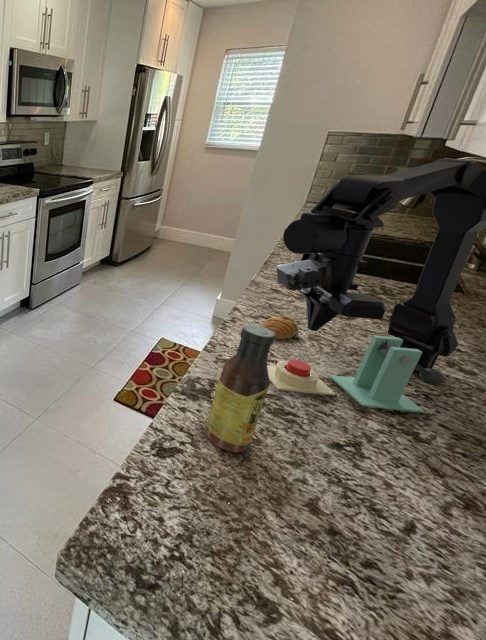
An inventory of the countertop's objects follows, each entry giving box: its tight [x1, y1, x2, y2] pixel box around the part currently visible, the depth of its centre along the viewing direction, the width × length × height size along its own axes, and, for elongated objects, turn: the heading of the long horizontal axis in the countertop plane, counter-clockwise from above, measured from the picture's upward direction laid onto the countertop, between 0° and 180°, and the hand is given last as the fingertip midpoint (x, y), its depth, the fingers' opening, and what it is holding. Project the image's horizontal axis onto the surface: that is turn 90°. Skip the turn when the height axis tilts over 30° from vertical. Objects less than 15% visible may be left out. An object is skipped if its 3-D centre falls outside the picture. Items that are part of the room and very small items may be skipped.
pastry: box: [261, 314, 299, 340], centre depth 99 cm, size 9×7×4 cm
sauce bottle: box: [205, 323, 275, 454], centre depth 62 cm, size 7×6×20 cm
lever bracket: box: [329, 335, 425, 414], centre depth 76 cm, size 10×9×12 cm
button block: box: [267, 360, 336, 396], centre depth 80 cm, size 10×8×3 cm
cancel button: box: [286, 358, 312, 377], centre depth 80 cm, size 4×4×2 cm
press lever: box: [377, 341, 445, 386], centre depth 74 cm, size 12×3×3 cm, turn 83°
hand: (312, 329), depth 77 cm, fingers closed
